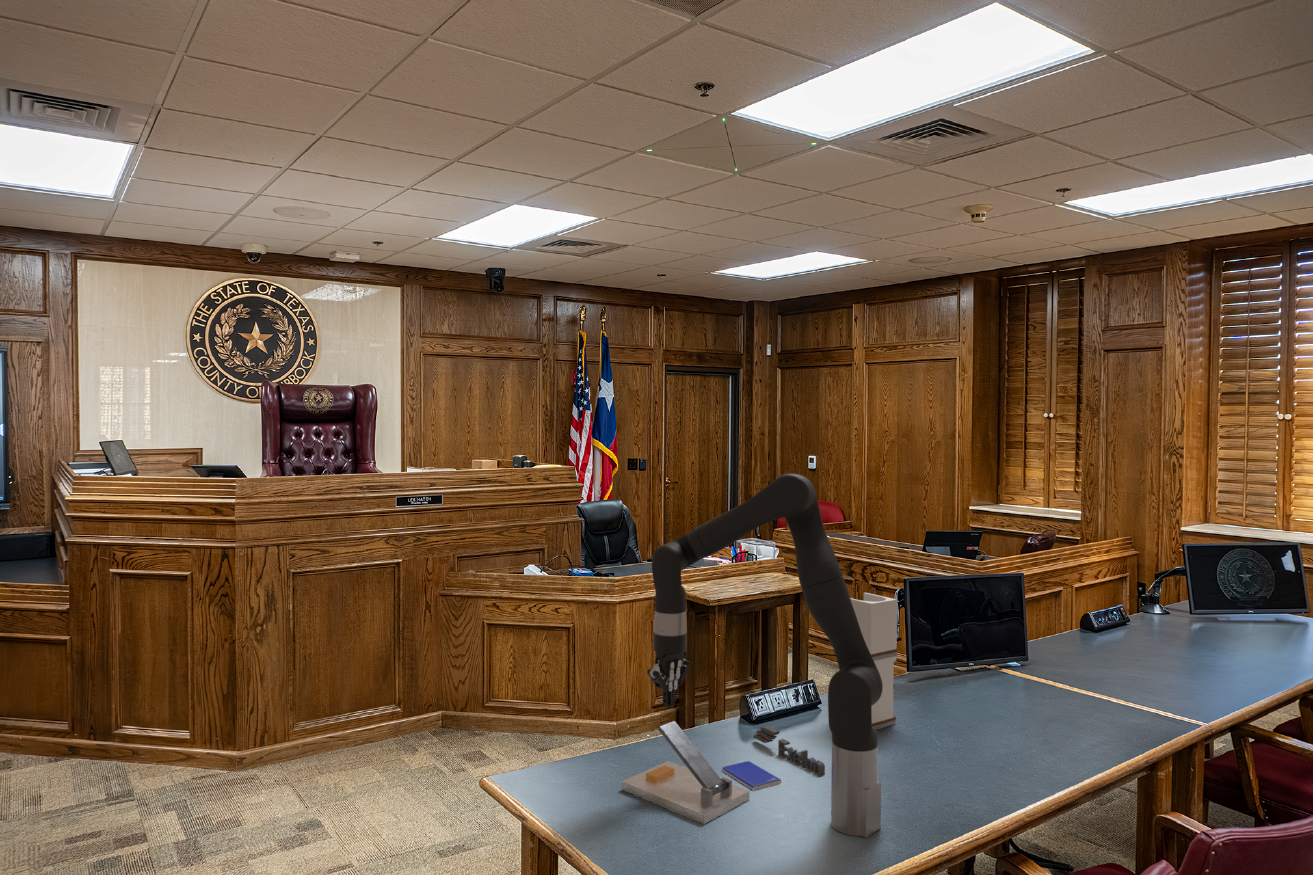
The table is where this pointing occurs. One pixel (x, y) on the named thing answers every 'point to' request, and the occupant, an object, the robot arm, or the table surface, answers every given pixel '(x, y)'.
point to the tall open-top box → (880, 648)
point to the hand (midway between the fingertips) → (669, 705)
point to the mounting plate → (684, 792)
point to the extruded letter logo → (790, 751)
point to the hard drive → (751, 775)
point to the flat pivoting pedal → (692, 758)
